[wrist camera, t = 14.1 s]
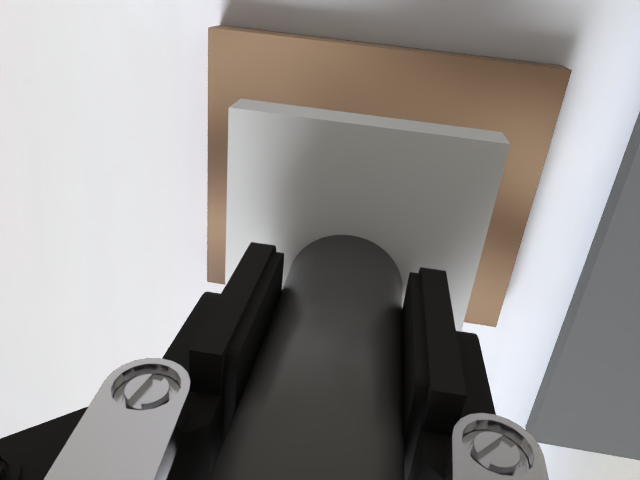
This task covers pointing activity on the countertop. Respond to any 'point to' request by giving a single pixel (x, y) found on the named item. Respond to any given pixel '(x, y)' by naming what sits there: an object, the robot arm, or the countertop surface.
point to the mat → (600, 336)
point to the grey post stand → (345, 275)
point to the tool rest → (393, 102)
